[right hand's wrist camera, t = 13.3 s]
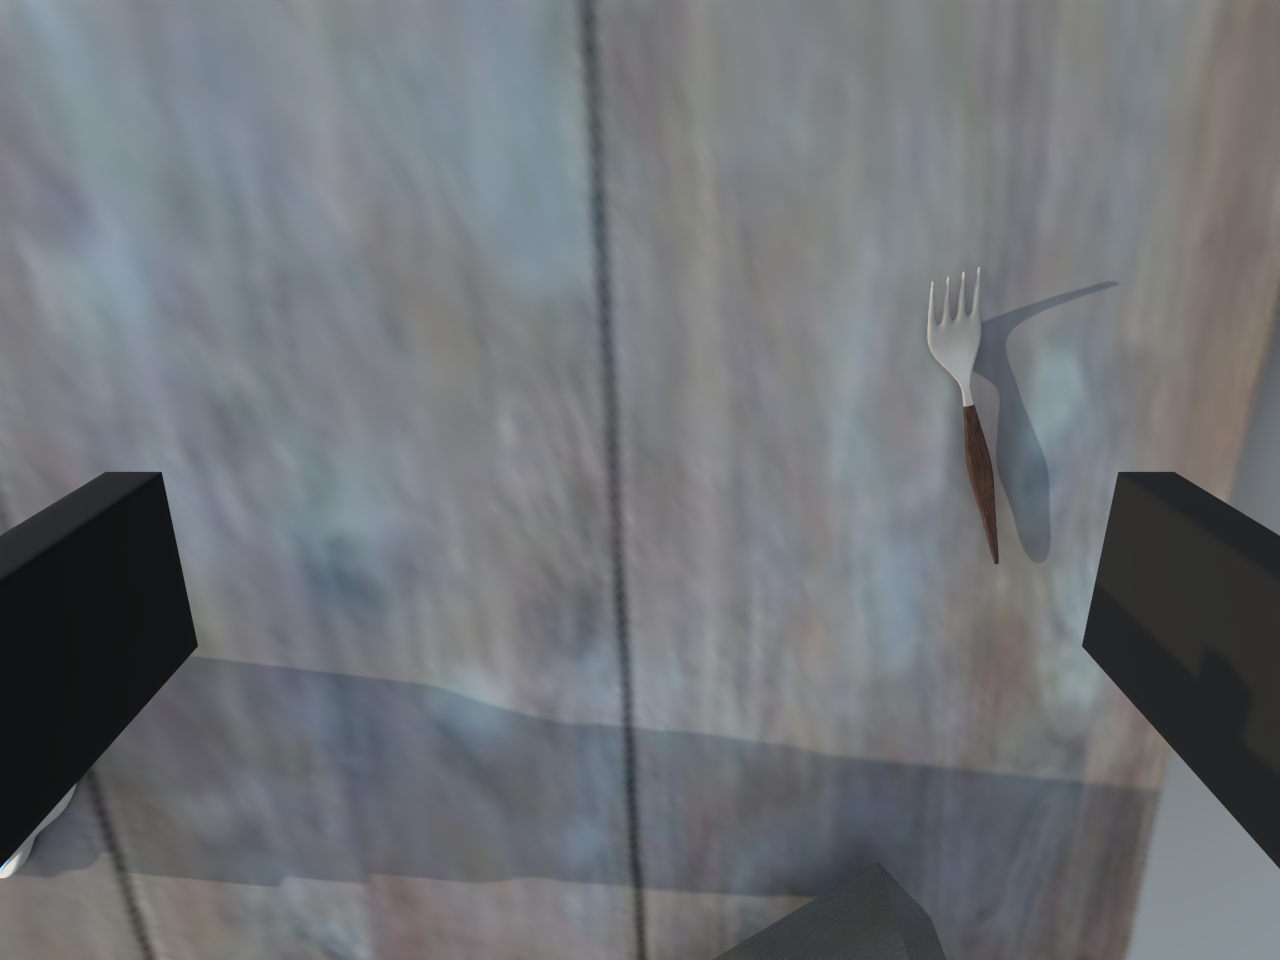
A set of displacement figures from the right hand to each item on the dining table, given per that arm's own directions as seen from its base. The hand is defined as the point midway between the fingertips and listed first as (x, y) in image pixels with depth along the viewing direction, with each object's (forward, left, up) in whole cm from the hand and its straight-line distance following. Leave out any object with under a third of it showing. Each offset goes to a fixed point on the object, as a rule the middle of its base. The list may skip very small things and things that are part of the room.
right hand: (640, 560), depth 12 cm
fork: (-11, +15, -31) cm, 36 cm away
